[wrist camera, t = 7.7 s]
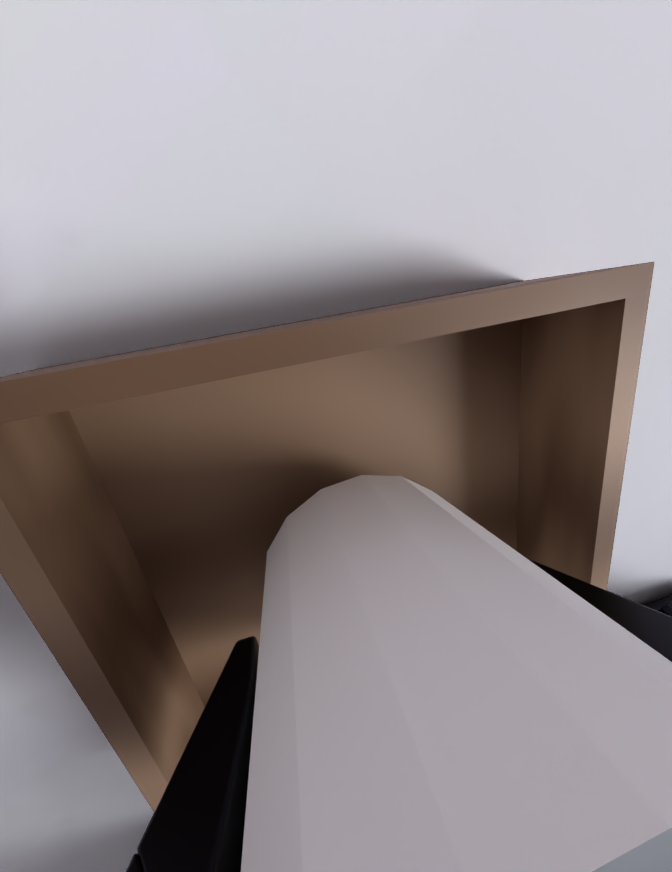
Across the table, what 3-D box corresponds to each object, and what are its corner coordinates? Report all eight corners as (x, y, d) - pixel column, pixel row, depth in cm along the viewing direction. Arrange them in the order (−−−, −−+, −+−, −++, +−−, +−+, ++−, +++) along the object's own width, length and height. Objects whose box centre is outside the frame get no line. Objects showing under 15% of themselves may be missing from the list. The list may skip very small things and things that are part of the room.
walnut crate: (516, 612, 15) (590, 695, 12) (203, 723, 13) (185, 861, 9) (526, 280, 10) (654, 261, 7) (35, 369, 8) (-111, 401, 5)
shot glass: (313, 694, 11) (404, 1250, 4) (183, 539, 8) (-78, 1351, 2) (499, 584, 11) (841, 947, 5) (430, 402, 9) (978, 652, 2)
